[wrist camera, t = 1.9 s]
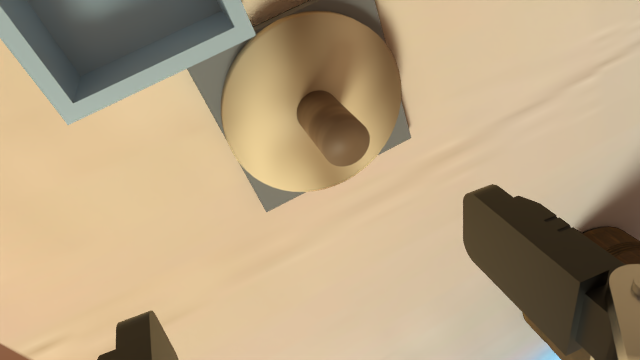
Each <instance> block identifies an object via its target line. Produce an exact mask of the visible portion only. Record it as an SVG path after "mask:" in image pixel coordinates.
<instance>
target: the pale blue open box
mask: <svg viewBox="0 0 640 360" xmlns="http://www.w3.org/2000/svg"><path fill="white" fill-rule="evenodd" d="M254 36H256V34H255V31H254V29H253V27H252V25H251V22H250V20H249V18H248V15H247V13H246V11H245V9H244V6H243V4H242V2H241V0H0V38H1V40H2V41H3V42H4V44H5V45H6V46H7V47H8V49H9V50H10V51H11V53H12V54H13V55H14V56H15V58H16V59H17V60H18V62H19V63H20V64H21V65H22V67H23V68H24V69H25V70H26V72H27V73H28V74H29V76H30V77H31V78H32V79H33V81H34V82H35V83H36V85H37V86H38V87H39V88H40V90H41V91H42V92H43V94H44V95H45V96H46V97H47V99H48V100H49V101H50V103H51V104H52V105H53V106H54V108H55V109H56V110H57V111H58V113H59V114H60V115H61V117H62V118H63V119H64V120H65V122H66V123H67V124H68V125H69V124H71V123H73V122H76V121H78V120H80V119H82V118H84V117H86V116H88V115H90V114H92V113H95V112H97V111H99V110H101V109H103V108H105V107H107V106H109V105H111V104H113V103H116V102H118V101H120V100H122V99H124V98H126V97H128V96H130V95H132V94H134V93H137V92H139V91H141V90H143V89H145V88H147V87H149V86H151V85H153V84H155V83H158V82H160V81H162V80H164V79H166V78H168V77H170V76H172V75H174V74H176V73H179V72H181V71H183V70H185V69H187V68H189V67H191V66H193V65H195V64H197V63H200V62H202V61H204V60H206V59H208V58H210V57H212V56H214V55H216V54H218V53H221V52H223V51H225V50H227V49H229V48H231V47H233V46H235V45H237V44H240V43H242V42H244V41H246V40H248V39H250V38H252V37H254Z"/></svg>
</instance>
